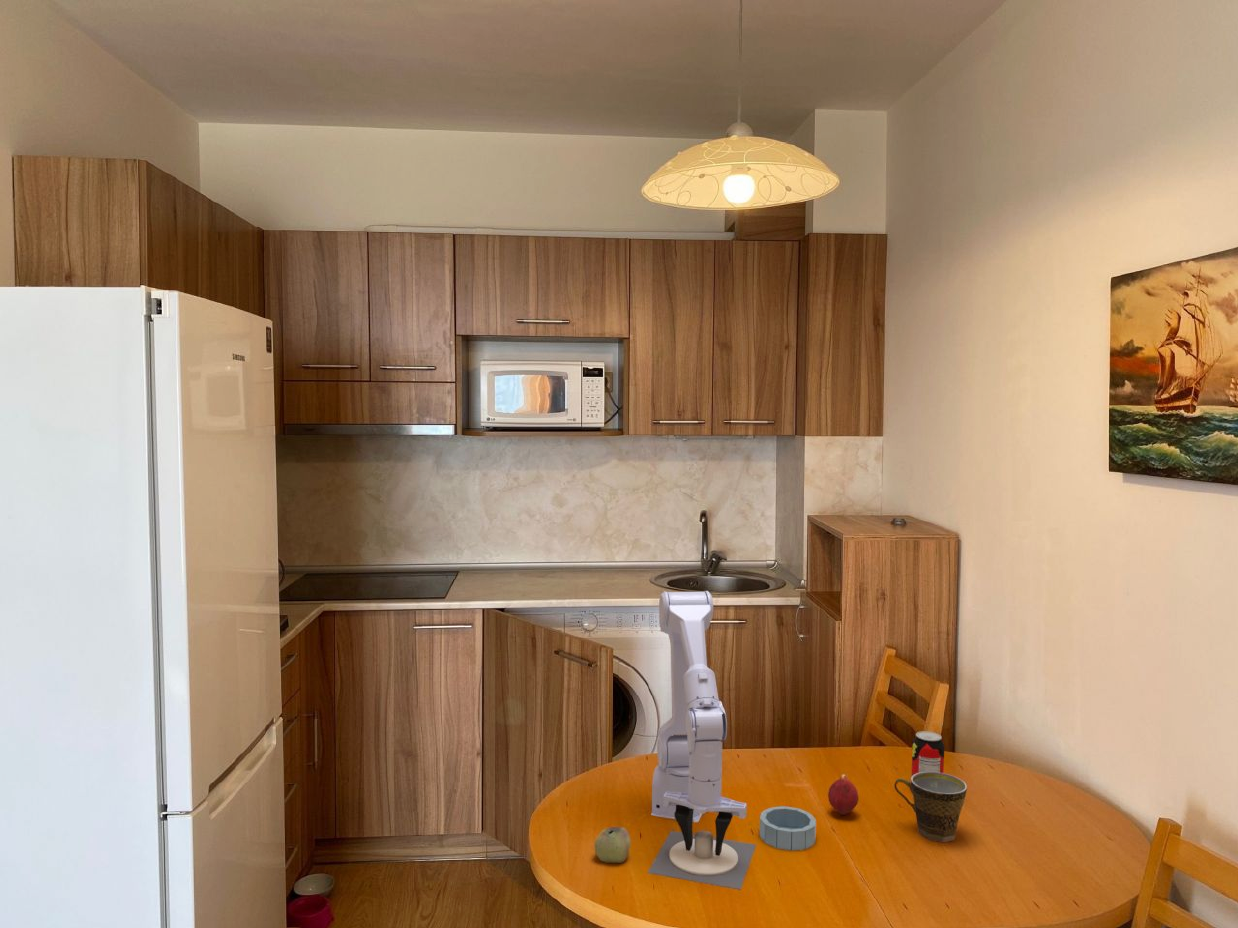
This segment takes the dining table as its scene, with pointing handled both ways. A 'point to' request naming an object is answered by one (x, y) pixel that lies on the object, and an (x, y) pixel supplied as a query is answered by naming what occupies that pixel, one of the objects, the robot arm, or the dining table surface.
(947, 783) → the ceramic cup
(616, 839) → the apple
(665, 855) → the mat
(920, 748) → the beverage can
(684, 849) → the lid
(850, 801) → the onion
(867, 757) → the dining table surface
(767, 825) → the bowl
